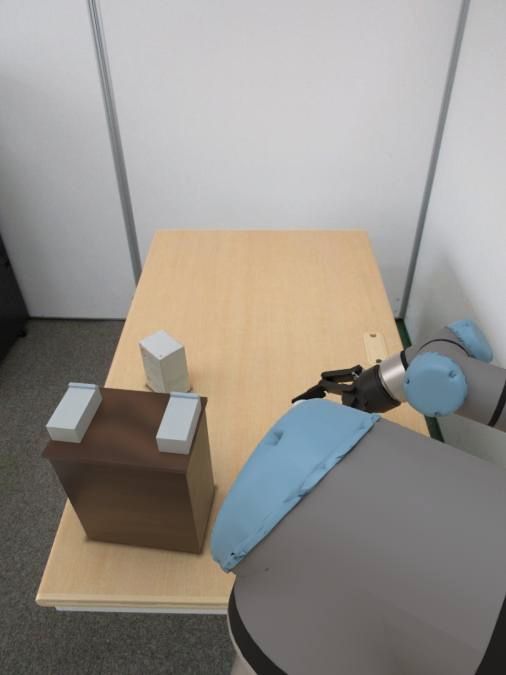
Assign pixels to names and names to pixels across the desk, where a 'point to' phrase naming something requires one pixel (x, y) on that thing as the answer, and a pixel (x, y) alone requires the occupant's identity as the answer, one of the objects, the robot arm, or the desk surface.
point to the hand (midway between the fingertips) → (293, 432)
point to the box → (179, 423)
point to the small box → (164, 363)
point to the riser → (136, 475)
